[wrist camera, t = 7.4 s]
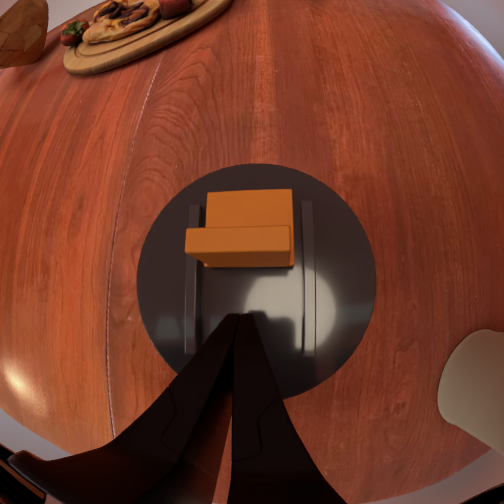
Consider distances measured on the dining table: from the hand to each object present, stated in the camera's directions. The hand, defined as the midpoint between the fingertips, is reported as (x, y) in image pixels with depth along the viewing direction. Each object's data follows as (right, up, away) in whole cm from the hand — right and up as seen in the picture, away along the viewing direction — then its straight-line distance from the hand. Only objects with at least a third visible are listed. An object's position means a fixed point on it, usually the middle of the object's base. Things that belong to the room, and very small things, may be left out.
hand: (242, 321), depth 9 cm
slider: (0, +3, +2) cm, 4 cm away
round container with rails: (+1, -1, +11) cm, 11 cm away
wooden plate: (-18, +42, +22) cm, 51 cm away
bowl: (-52, +49, +27) cm, 77 cm away
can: (+20, -9, +7) cm, 24 cm away
